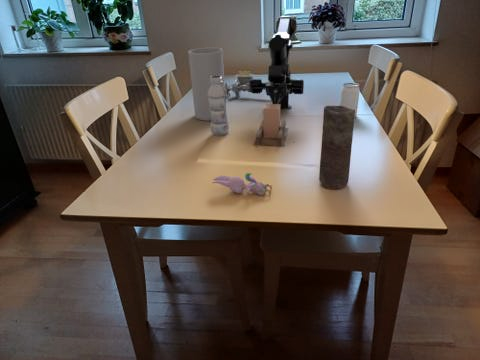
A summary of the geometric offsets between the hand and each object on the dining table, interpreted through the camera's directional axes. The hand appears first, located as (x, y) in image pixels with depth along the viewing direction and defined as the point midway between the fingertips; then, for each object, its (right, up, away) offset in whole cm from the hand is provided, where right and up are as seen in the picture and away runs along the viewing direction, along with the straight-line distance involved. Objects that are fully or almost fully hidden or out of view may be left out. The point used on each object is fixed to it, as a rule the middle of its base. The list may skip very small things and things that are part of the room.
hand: (274, 108), depth 121 cm
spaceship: (-13, +14, +42) cm, 46 cm away
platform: (-9, +25, +63) cm, 68 cm away
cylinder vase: (-24, +1, +20) cm, 31 cm away
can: (+29, -1, +13) cm, 32 cm away
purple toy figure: (-11, -28, -32) cm, 44 cm away
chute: (-1, -11, -3) cm, 12 cm away
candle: (+12, -26, -30) cm, 42 cm away
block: (-1, -10, -3) cm, 10 cm away
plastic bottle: (-19, -9, +2) cm, 21 cm away
